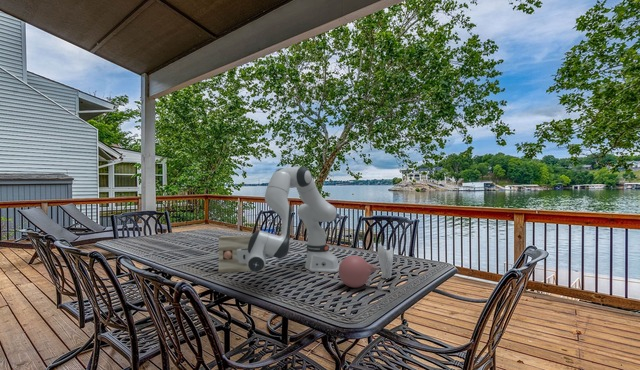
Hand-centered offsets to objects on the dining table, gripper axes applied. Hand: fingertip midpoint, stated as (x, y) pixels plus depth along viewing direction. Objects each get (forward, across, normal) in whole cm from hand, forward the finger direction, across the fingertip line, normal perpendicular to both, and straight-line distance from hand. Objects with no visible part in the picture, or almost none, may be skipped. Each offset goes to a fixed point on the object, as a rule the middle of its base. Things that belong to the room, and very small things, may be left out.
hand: (256, 249), depth 162 cm
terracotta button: (+15, +17, +8) cm, 24 cm away
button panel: (+20, +9, +16) cm, 27 cm away
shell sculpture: (-11, -68, +17) cm, 72 cm away
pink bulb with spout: (-23, -49, +17) cm, 57 cm away
